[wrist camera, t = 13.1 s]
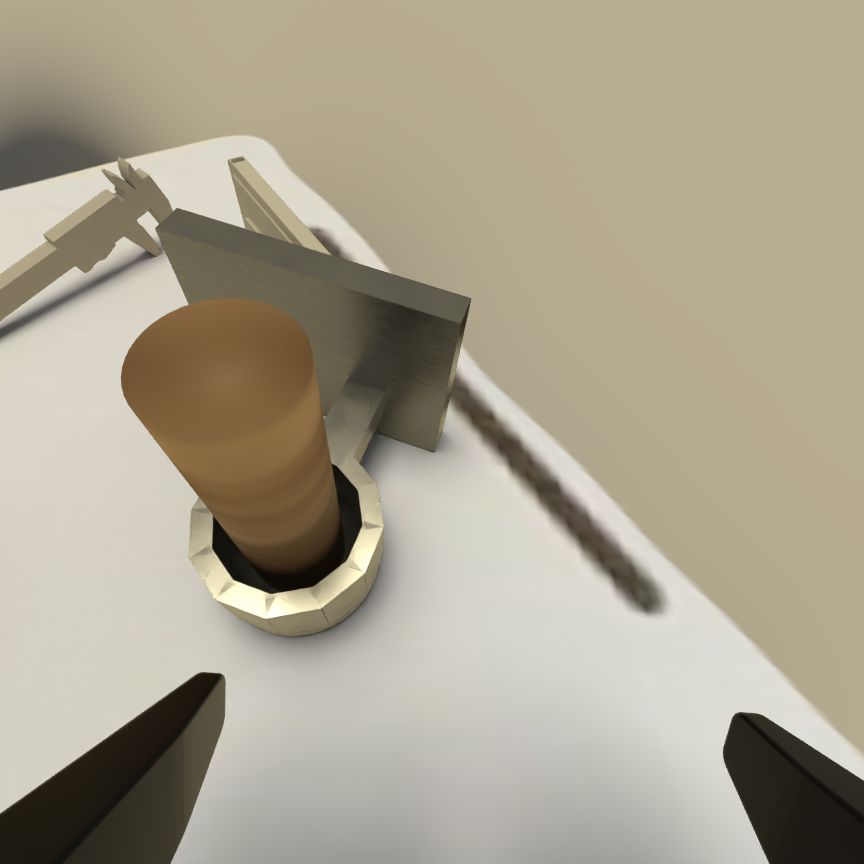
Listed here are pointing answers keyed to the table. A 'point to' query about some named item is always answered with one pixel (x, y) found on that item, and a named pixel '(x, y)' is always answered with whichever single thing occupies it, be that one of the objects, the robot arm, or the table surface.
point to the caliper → (87, 236)
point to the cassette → (267, 208)
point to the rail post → (244, 430)
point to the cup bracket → (325, 394)
